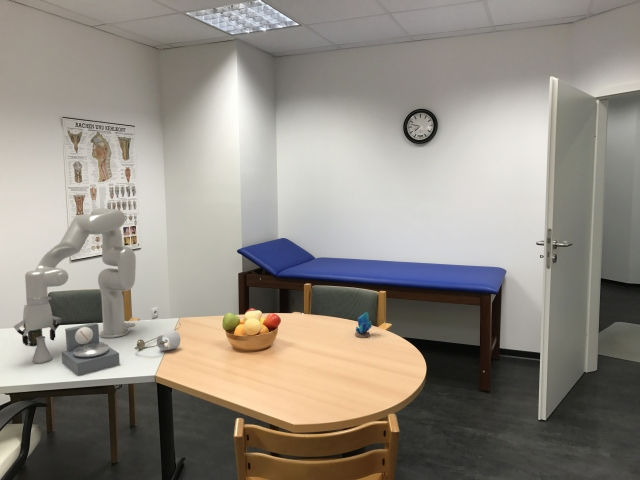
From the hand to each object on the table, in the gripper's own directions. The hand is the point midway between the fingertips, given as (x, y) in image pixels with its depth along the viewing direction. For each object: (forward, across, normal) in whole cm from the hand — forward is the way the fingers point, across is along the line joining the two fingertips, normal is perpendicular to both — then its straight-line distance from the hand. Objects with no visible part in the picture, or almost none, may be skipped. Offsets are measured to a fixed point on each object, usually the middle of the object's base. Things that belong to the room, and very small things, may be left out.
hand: (39, 342), depth 207 cm
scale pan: (+2, -14, +19) cm, 23 cm away
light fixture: (+7, -51, +15) cm, 54 cm away
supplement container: (+8, -5, -24) cm, 26 cm away
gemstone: (+6, -120, +70) cm, 139 cm away
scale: (+8, -14, +17) cm, 23 cm away
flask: (+8, -1, 0) cm, 8 cm away
